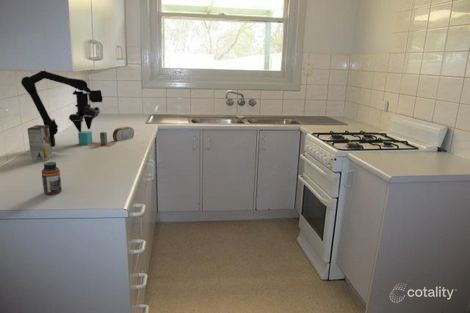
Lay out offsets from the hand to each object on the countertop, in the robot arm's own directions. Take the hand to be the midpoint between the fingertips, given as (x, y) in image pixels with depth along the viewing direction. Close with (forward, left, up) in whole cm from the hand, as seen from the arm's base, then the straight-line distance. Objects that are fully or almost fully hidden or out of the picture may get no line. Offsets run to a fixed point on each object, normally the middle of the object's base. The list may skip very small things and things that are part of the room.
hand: (84, 130), depth 204 cm
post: (0, -11, -8) cm, 13 cm away
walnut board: (0, -6, -9) cm, 11 cm away
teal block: (0, 0, -8) cm, 8 cm away
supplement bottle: (-71, -28, -9) cm, 77 cm away
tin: (+17, -15, -9) cm, 24 cm away
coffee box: (-31, +5, -9) cm, 33 cm away
